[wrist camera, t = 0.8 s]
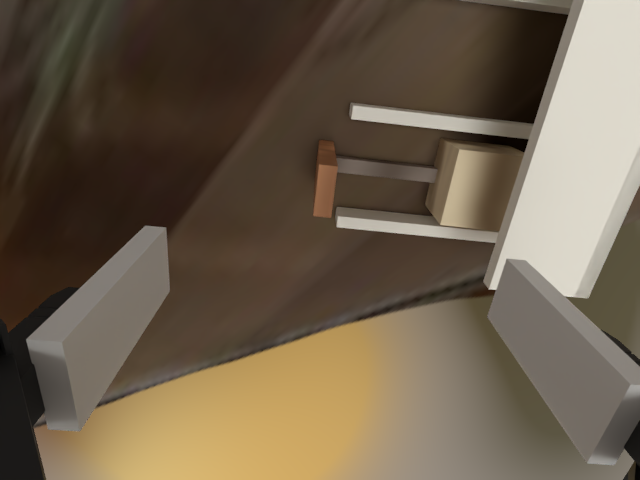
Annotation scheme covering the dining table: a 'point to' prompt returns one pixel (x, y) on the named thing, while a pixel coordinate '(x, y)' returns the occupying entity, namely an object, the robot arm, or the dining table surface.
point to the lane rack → (553, 152)
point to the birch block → (436, 180)
